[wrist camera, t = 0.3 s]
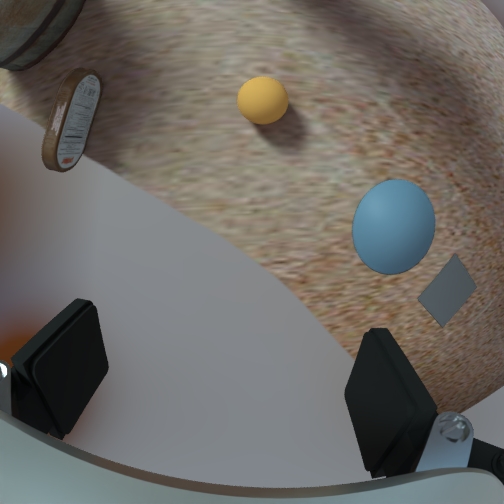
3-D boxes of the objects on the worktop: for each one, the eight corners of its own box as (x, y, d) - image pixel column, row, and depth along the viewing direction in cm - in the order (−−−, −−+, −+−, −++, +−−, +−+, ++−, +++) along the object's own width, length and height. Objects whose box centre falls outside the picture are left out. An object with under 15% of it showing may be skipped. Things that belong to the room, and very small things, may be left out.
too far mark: (455, 253, 38) (455, 253, 38) (476, 286, 40) (476, 287, 40) (417, 298, 41) (417, 299, 41) (442, 327, 42) (442, 327, 42)
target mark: (395, 158, 34) (395, 158, 34) (448, 224, 37) (448, 224, 37) (332, 233, 38) (332, 233, 38) (392, 290, 40) (393, 291, 40)
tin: (96, 74, 32) (65, 61, 24) (112, 76, 32) (82, 62, 24) (68, 167, 36) (33, 171, 28) (82, 172, 36) (48, 177, 28)
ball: (259, 75, 32) (258, 60, 26) (295, 103, 33) (301, 92, 27) (229, 108, 33) (223, 98, 28) (266, 136, 34) (267, 131, 29)
